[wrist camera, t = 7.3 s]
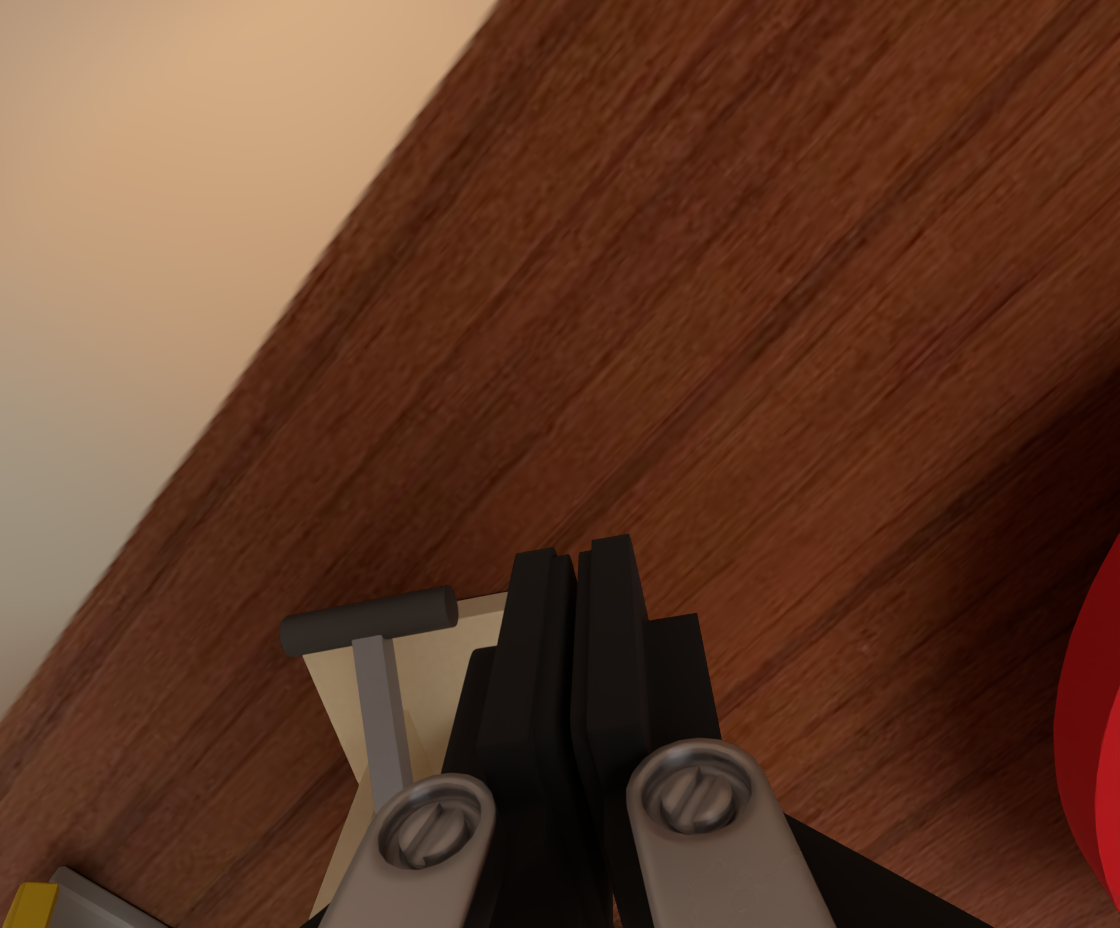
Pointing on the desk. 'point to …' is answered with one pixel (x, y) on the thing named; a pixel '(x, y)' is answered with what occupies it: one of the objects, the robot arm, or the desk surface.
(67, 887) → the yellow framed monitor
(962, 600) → the desk surface
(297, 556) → the desk surface
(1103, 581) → the bowl
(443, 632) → the lever stand
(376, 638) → the switch lever
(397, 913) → the robot arm
